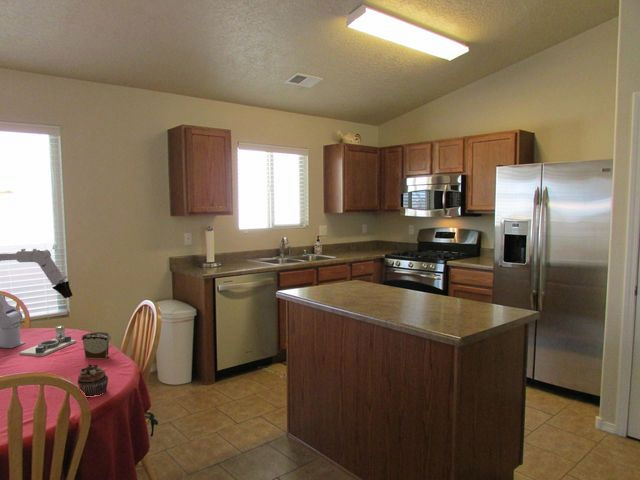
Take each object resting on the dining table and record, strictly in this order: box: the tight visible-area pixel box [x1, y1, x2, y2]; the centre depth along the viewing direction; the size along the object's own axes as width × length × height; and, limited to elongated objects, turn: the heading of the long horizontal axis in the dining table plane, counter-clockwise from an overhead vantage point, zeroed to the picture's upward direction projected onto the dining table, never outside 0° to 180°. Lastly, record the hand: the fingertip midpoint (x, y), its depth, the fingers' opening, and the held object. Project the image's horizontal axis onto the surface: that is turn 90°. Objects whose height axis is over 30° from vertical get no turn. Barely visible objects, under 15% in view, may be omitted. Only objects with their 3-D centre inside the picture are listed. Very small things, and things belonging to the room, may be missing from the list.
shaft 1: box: [35, 344, 47, 353], centre depth 198 cm, size 5×3×3 cm, turn 9°
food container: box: [81, 331, 112, 360], centre depth 194 cm, size 12×6×10 cm, turn 84°
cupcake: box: [77, 364, 109, 396], centre depth 157 cm, size 10×10×10 cm
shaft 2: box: [57, 335, 72, 343], centre depth 211 cm, size 5×3×3 cm, turn 149°
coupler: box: [54, 325, 66, 339], centre depth 219 cm, size 4×4×6 cm
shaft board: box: [18, 338, 77, 357], centre depth 205 cm, size 12×20×2 cm, turn 169°
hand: (69, 297), depth 209 cm, fingers open, 7 cm apart
